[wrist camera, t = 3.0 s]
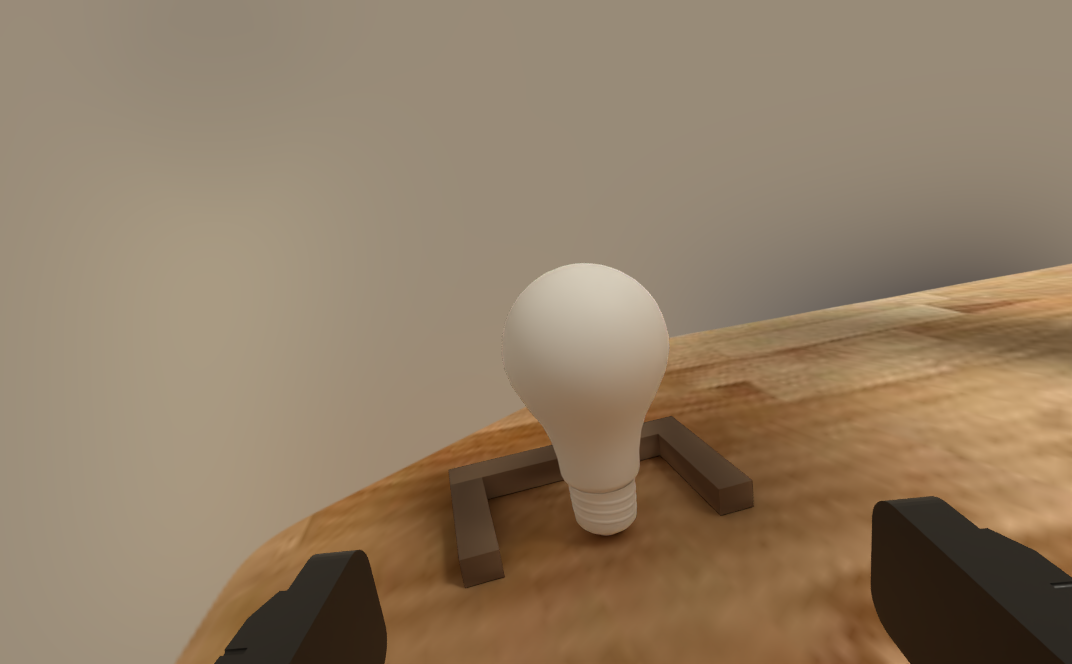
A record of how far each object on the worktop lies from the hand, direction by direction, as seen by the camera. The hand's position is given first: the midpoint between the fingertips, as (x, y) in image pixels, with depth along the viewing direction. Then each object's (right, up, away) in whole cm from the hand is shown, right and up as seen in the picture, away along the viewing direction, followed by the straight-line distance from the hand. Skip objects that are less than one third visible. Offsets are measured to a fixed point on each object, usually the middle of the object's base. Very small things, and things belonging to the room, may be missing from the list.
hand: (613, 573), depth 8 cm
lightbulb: (+2, -4, +13) cm, 14 cm away
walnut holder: (+1, -4, +15) cm, 16 cm away
